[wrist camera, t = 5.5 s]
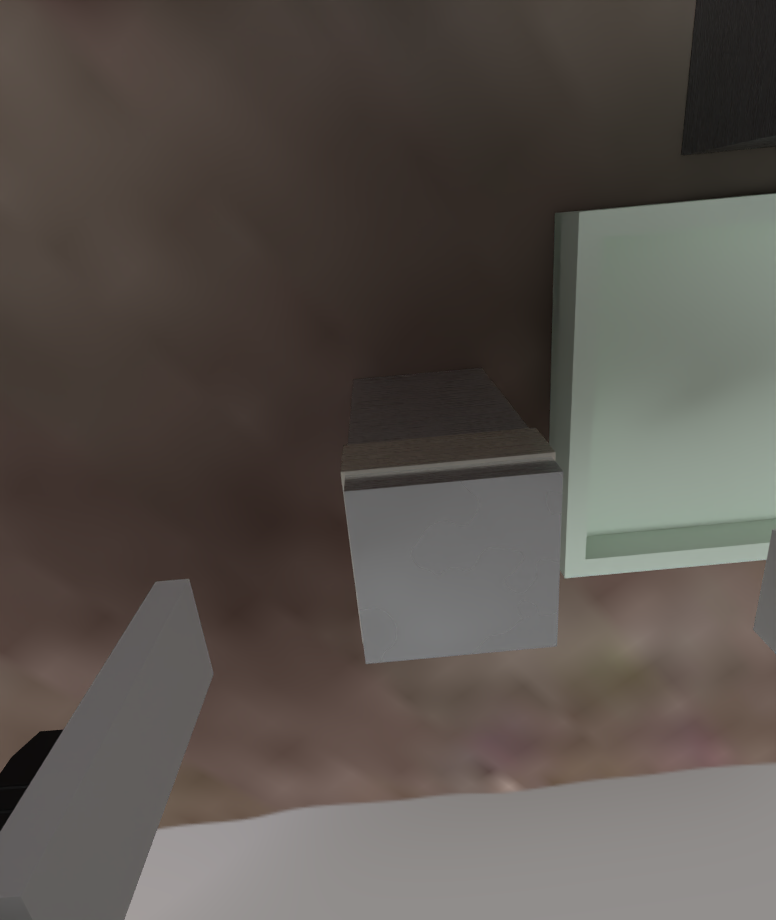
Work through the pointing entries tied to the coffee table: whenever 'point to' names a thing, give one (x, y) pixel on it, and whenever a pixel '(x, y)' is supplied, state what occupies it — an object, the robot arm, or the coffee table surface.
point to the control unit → (732, 77)
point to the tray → (665, 384)
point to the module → (450, 518)
